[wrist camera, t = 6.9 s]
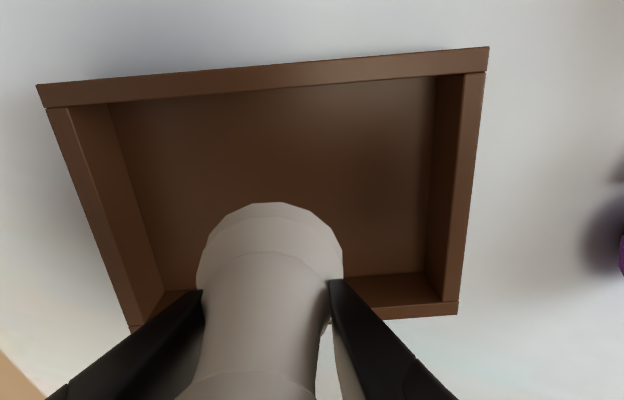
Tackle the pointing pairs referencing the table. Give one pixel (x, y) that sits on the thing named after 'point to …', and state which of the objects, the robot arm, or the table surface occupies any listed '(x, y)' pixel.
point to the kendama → (621, 255)
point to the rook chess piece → (264, 304)
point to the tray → (281, 168)
